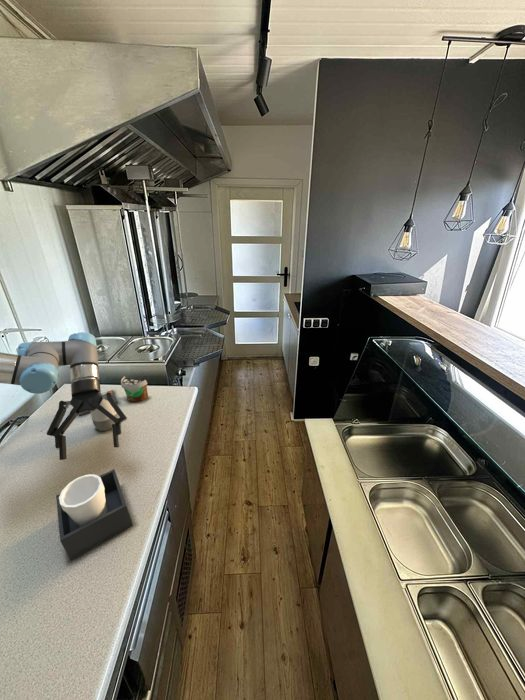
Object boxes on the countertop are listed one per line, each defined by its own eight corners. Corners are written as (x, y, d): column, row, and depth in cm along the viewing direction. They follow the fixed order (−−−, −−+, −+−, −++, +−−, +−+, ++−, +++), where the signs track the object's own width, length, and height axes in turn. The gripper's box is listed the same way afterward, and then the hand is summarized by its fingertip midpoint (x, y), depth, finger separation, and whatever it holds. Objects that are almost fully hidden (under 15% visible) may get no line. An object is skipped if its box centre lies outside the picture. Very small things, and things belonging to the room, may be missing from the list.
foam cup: (72, 520, 78) (56, 487, 72) (109, 500, 83) (97, 468, 77) (79, 548, 71) (62, 515, 65) (118, 525, 76) (105, 492, 71)
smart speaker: (103, 417, 118) (94, 388, 112) (125, 417, 118) (117, 389, 112) (90, 433, 110) (79, 403, 104) (113, 433, 109) (104, 403, 103)
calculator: (117, 401, 126) (78, 414, 119) (118, 403, 127) (79, 416, 119) (112, 389, 135) (76, 400, 127) (113, 391, 135) (76, 402, 128)
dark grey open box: (65, 514, 80) (55, 495, 77) (120, 487, 88) (114, 468, 84) (70, 560, 70) (59, 540, 66) (133, 524, 77) (126, 505, 74)
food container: (119, 401, 128) (113, 383, 123) (128, 394, 133) (123, 375, 129) (142, 406, 124) (137, 387, 120) (151, 398, 130) (146, 379, 125)
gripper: (131, 377, 94) (139, 442, 88) (44, 392, 87) (45, 464, 81) (126, 371, 88) (134, 441, 81) (31, 387, 80) (32, 465, 74)
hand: (90, 453), depth 81 cm, fingers open, 13 cm apart
